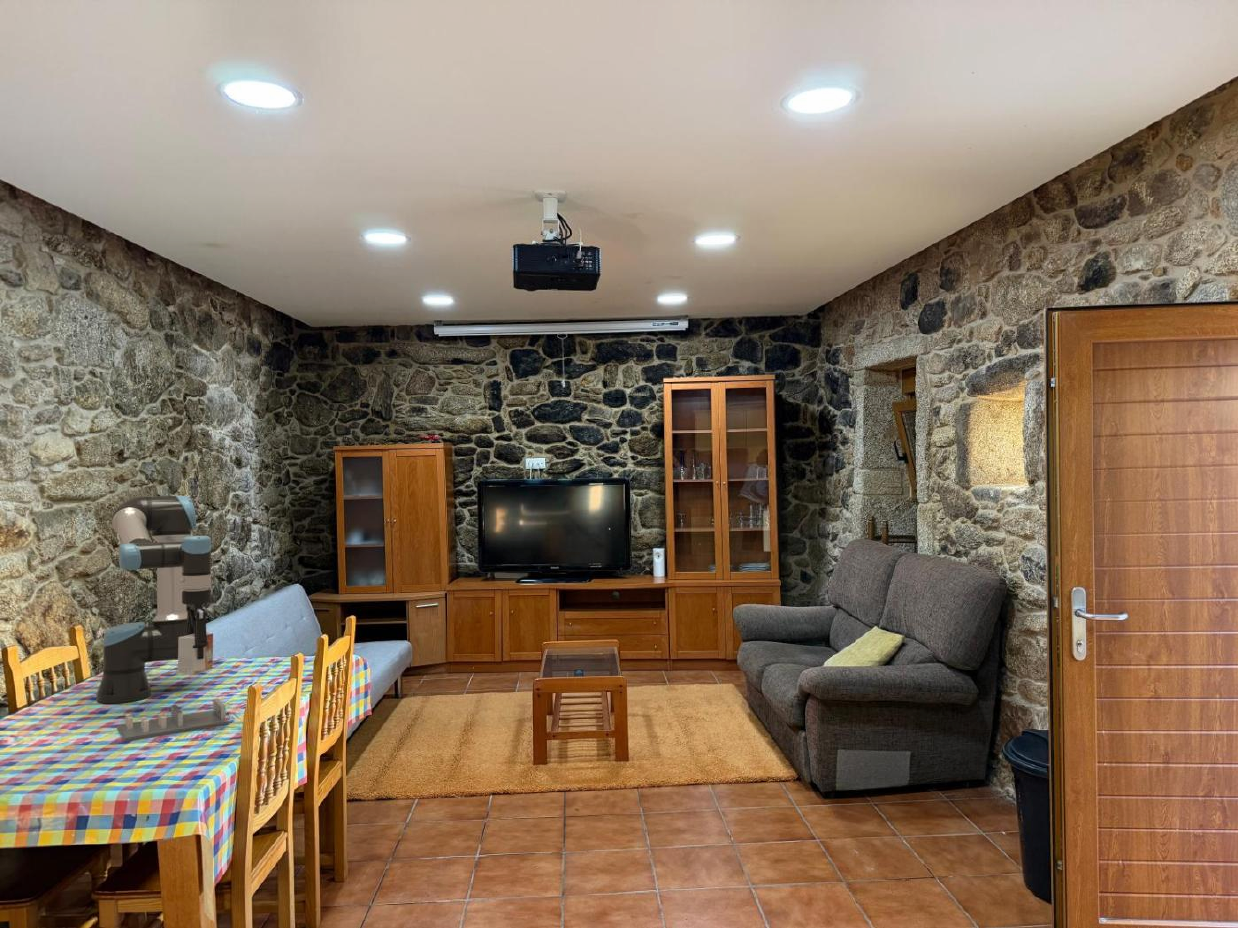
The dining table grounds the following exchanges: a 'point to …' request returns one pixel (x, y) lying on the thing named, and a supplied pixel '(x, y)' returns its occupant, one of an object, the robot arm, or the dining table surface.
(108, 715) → the dining table surface
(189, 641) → the small box
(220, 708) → the end holder
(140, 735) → the board
